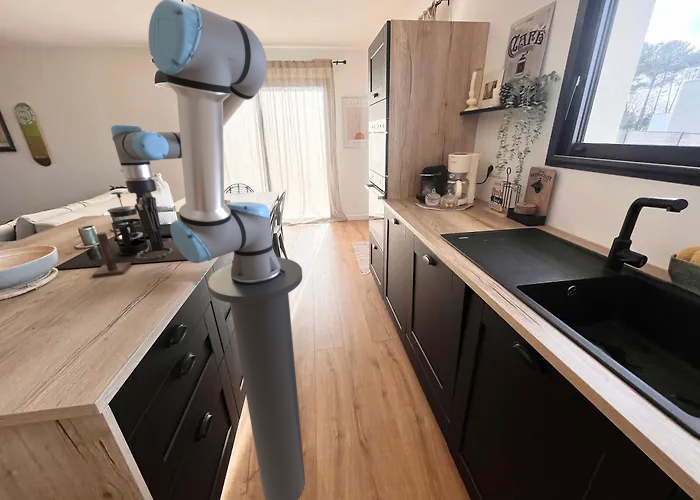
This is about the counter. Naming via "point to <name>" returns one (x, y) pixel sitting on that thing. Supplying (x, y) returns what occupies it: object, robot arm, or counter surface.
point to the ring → (153, 257)
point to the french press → (129, 239)
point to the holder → (109, 259)
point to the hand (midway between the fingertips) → (158, 249)
